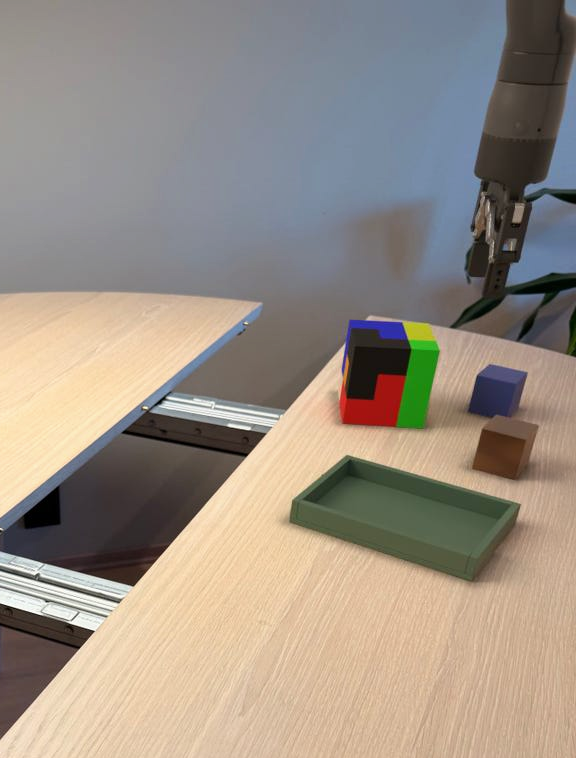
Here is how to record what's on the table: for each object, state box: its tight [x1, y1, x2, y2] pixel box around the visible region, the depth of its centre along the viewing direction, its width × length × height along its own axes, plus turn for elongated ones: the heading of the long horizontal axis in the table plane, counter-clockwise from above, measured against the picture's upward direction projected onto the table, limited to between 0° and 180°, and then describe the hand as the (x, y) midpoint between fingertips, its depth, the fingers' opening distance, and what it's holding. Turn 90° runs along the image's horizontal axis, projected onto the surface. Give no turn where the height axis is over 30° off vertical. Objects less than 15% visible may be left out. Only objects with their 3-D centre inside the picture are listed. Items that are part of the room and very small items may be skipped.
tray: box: [288, 454, 522, 582], centre depth 103 cm, size 20×14×3 cm
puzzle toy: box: [337, 319, 441, 429], centre depth 125 cm, size 10×10×10 cm
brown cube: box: [471, 415, 540, 480], centre depth 114 cm, size 5×5×5 cm
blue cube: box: [467, 363, 529, 419], centre depth 127 cm, size 5×5×5 cm
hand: (483, 286), depth 113 cm, fingers open, 8 cm apart
